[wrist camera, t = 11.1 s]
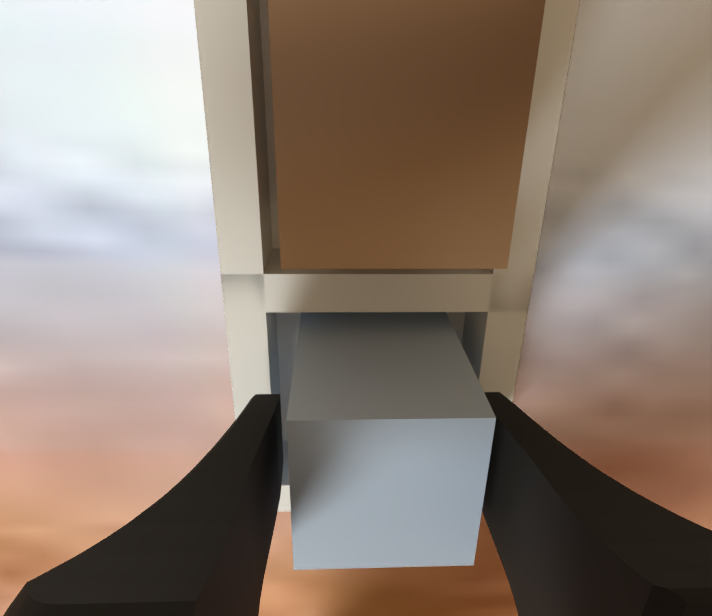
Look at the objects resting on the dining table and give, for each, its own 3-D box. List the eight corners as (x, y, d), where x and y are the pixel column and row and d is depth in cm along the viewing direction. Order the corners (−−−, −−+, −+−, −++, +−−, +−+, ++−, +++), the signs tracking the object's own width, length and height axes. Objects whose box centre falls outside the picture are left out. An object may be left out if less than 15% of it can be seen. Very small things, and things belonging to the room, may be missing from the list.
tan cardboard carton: (449, 204, 14) (506, 269, 9) (298, 203, 14) (281, 268, 9) (473, -69, 11) (569, -167, 7) (289, -74, 11) (259, -180, 6)
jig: (477, 442, 18) (502, 507, 16) (250, 445, 18) (235, 512, 15) (560, -152, 11) (631, -222, 9) (198, -165, 11) (154, -242, 8)
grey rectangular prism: (431, 416, 16) (473, 565, 11) (306, 418, 16) (293, 569, 11) (441, 302, 15) (495, 418, 10) (302, 302, 15) (286, 420, 10)
